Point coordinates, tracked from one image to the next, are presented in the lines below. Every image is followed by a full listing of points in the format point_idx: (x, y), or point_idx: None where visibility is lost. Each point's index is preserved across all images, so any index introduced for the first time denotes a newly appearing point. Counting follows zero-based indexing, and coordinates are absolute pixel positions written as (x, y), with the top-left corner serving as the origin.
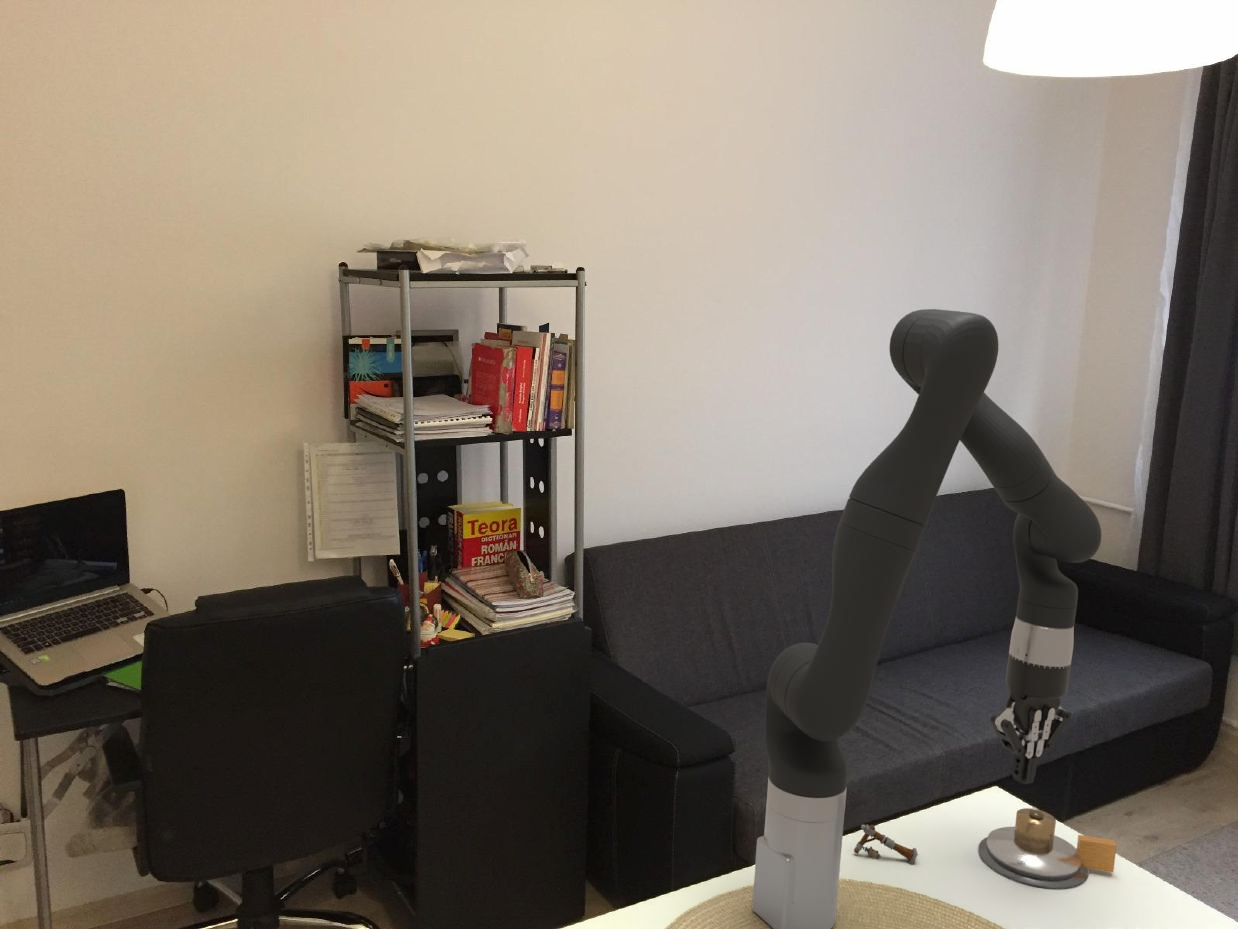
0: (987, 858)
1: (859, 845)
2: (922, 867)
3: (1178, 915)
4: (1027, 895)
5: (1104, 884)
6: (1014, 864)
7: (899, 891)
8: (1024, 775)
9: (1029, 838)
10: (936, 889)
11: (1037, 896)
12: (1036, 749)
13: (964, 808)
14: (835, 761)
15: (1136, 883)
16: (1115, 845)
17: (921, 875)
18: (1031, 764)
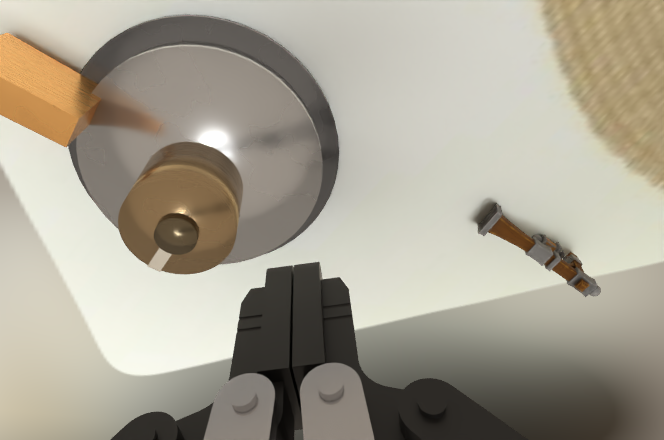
0: (324, 182)
1: (580, 262)
2: (482, 189)
3: None
4: (335, 19)
5: (64, 5)
6: (310, 119)
7: (609, 120)
8: (321, 295)
9: (227, 178)
10: (528, 106)
11: (311, 7)
12: (273, 418)
13: (224, 351)
14: None
15: None
16: None
17: (510, 163)
18: (297, 334)
